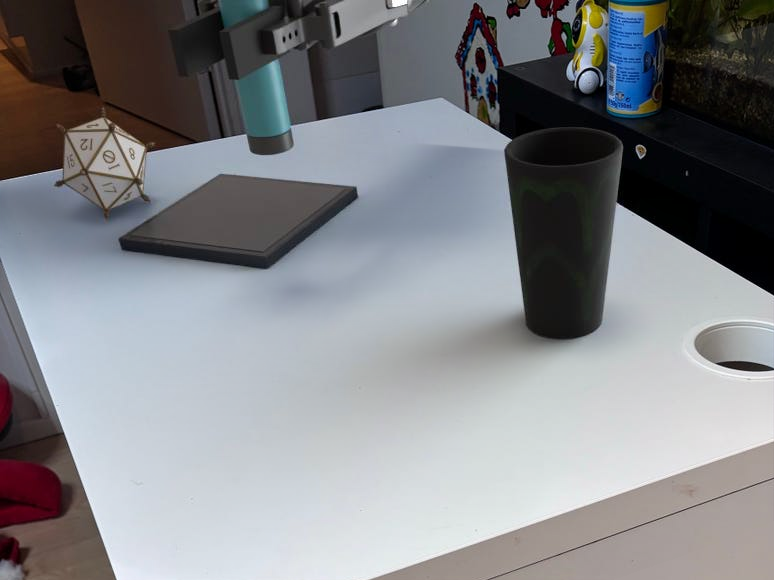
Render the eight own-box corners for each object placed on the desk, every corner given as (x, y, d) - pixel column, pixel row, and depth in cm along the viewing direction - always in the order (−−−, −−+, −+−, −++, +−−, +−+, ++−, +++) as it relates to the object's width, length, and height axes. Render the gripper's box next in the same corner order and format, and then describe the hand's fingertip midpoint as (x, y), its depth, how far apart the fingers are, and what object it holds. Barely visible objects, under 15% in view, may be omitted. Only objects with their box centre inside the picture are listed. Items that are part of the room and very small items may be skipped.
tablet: (121, 249, 89) (117, 237, 88) (222, 183, 99) (220, 172, 98) (267, 268, 84) (265, 256, 83) (358, 197, 94) (356, 185, 94)
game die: (128, 239, 100) (125, 132, 99) (174, 223, 94) (172, 109, 93) (37, 218, 93) (33, 103, 92) (81, 199, 88) (77, 77, 87)
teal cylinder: (241, 153, 73) (198, -45, 65) (264, 138, 75) (226, -56, 67) (279, 157, 72) (241, -44, 64) (302, 141, 74) (267, -55, 66)
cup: (627, 302, 76) (635, 129, 67) (602, 351, 70) (607, 170, 62) (528, 292, 78) (523, 124, 69) (497, 339, 73) (488, 163, 64)
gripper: (468, 29, 80) (324, 126, 65) (290, 23, 85) (118, 111, 70) (461, -86, 75) (303, -12, 60) (272, -86, 80) (82, -17, 65)
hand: (203, 54), depth 65 cm, fingers closed on teal cylinder, 3 cm apart
